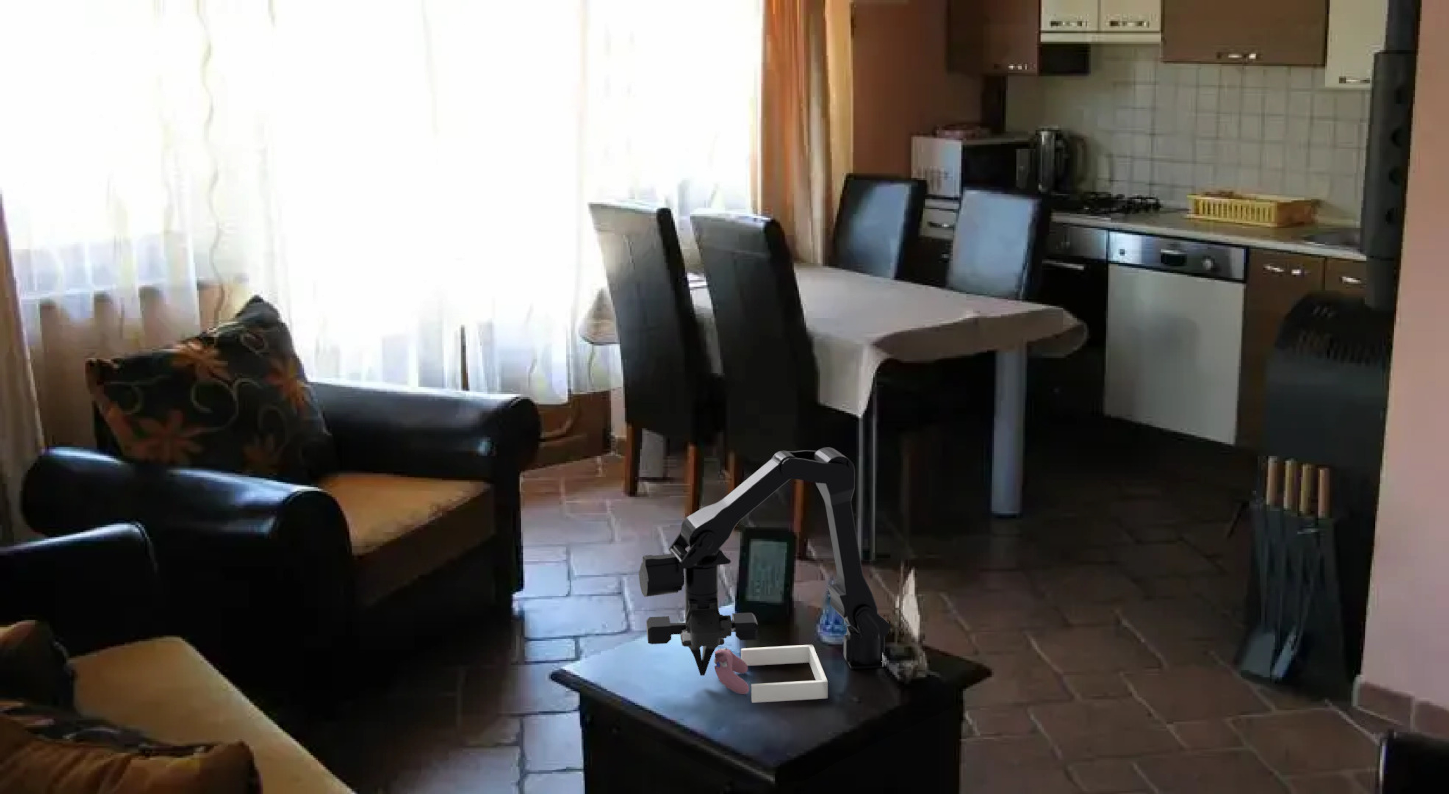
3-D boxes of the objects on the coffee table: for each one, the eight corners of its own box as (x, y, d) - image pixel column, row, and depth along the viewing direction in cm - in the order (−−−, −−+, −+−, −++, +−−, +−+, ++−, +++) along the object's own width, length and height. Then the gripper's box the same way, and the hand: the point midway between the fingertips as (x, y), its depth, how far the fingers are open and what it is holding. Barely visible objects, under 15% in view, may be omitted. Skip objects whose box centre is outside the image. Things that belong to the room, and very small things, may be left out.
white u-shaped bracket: (812, 660, 267) (812, 644, 267) (827, 698, 252) (827, 681, 252) (741, 664, 266) (741, 648, 265) (752, 702, 251) (751, 686, 250)
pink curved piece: (726, 679, 263) (708, 646, 262) (749, 668, 263) (731, 635, 261) (727, 704, 254) (708, 670, 252) (751, 693, 253) (732, 659, 252)
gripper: (649, 609, 245) (650, 697, 249) (762, 604, 247) (762, 692, 251) (645, 584, 256) (646, 669, 259) (754, 580, 258) (754, 664, 261)
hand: (702, 674), depth 257 cm, fingers closed
